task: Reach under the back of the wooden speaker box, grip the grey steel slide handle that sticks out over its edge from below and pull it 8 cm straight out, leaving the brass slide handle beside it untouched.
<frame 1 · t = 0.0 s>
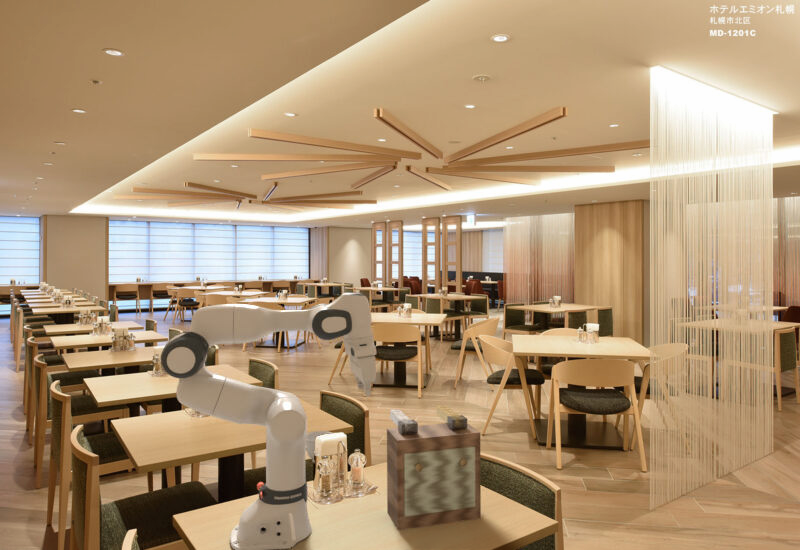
hand: (364, 392, 158), 39 cm above the table, tool pointing down, fingers open, 8 cm apart
teacup: (315, 461, 209), on the table
steel handle: (401, 421, 166), point 28 cm above the table, slide at 0.0 cm
brass handle: (449, 416, 170), point 28 cm above the table, slide at 0.0 cm
wooden speaker box: (433, 515, 162), on the table
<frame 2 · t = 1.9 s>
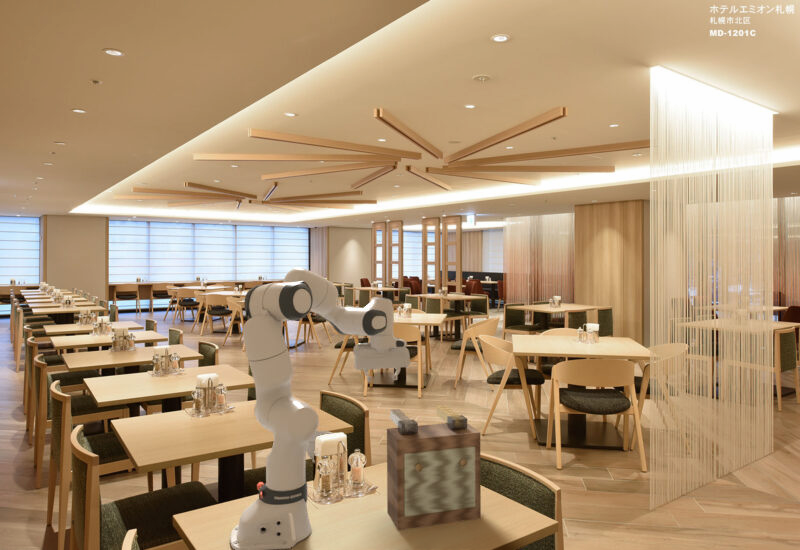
hand: (382, 380, 190), 35 cm above the table, tool pointing down, fingers open, 8 cm apart
nothing on the table moved.
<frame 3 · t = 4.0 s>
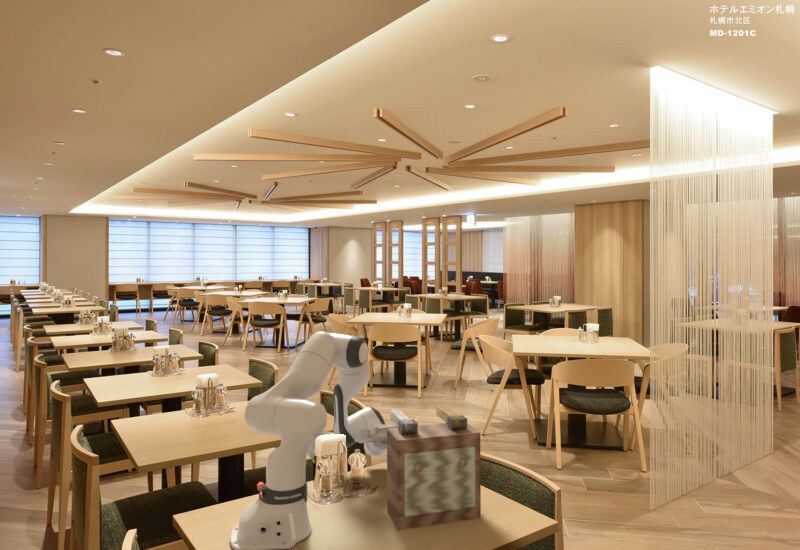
hand: (390, 428, 180), 21 cm above the table, tool pointing upward, fingers open, 8 cm apart
nothing on the table moved.
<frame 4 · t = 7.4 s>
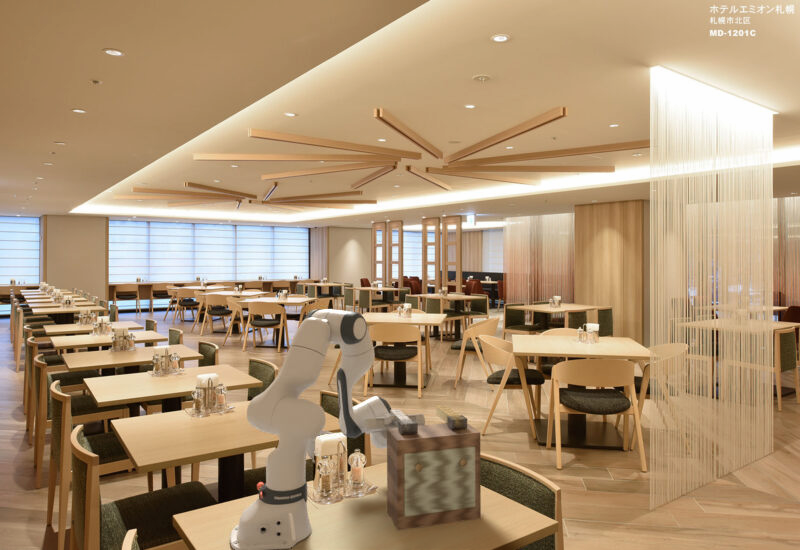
hand: (399, 417, 169), 28 cm above the table, tool pointing upward, fingers closed on steel handle, 3 cm apart
steel handle: (401, 421, 166), point 28 cm above the table, slide at 0.0 cm, touching gripper
everything else where it was.
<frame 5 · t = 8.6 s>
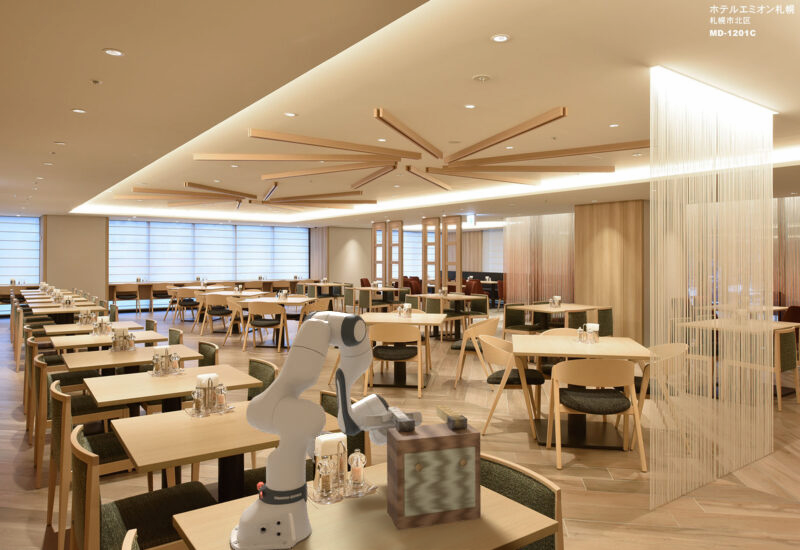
hand: (397, 414, 172), 28 cm above the table, tool pointing upward, fingers closed on steel handle, 3 cm apart
steel handle: (399, 418, 169), point 28 cm above the table, slide at 2.9 cm, touching gripper
everything else where it was.
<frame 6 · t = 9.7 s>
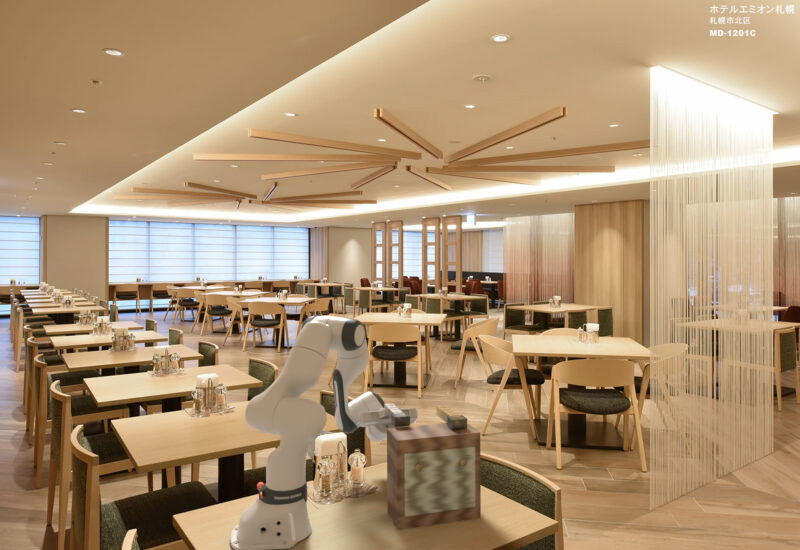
hand: (393, 410, 176), 28 cm above the table, tool pointing upward, fingers closed on steel handle, 3 cm apart
steel handle: (395, 414, 174), point 28 cm above the table, slide at 7.9 cm, touching gripper
everything else where it was.
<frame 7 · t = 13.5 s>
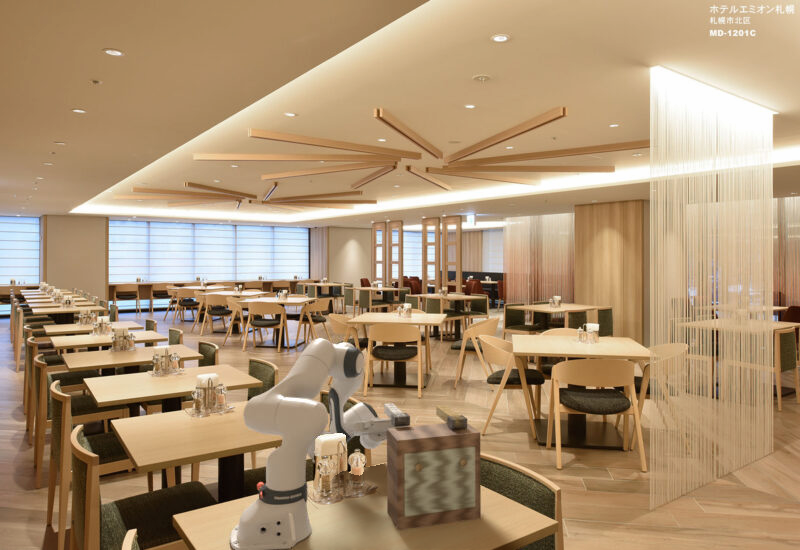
hand: (384, 421, 188), 22 cm above the table, tool pointing upward, fingers open, 8 cm apart
steel handle: (395, 414, 174), point 28 cm above the table, slide at 7.9 cm
everything else where it was.
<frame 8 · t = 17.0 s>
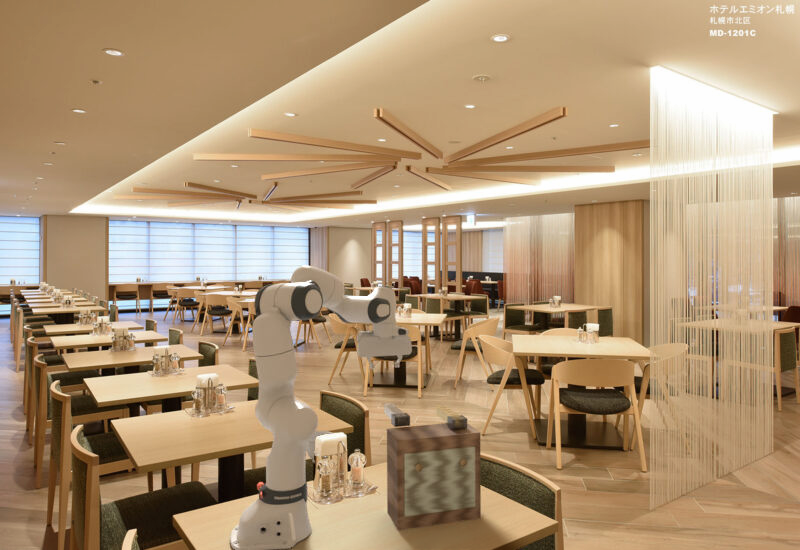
hand: (384, 367, 195), 39 cm above the table, tool pointing down, fingers open, 8 cm apart
nothing on the table moved.
at the end: steel handle slide at 7.9 cm; brass handle slide at 0.0 cm; the gripper is holding nothing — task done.
